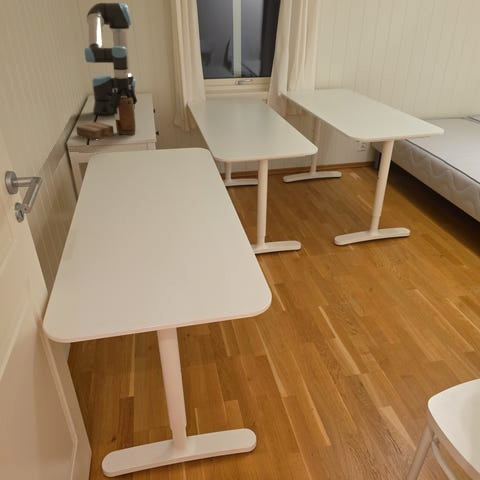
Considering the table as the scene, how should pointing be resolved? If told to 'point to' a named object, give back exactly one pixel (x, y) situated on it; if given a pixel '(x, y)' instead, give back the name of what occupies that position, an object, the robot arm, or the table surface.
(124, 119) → the block
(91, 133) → the walnut base
